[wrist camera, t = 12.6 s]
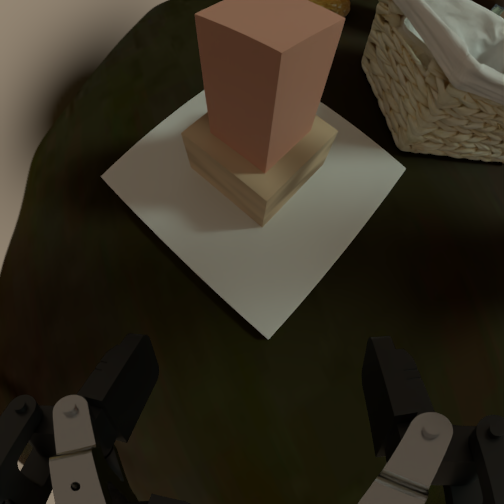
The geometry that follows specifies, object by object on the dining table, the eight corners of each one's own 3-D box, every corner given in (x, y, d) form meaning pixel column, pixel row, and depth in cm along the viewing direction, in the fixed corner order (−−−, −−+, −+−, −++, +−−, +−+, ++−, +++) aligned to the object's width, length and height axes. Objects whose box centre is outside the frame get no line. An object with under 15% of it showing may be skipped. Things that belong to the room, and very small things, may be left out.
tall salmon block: (257, 95, 21) (265, -16, 12) (310, 130, 20) (345, 18, 11) (210, 132, 20) (194, 14, 11) (265, 173, 19) (281, 52, 10)
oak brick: (254, 114, 27) (256, 76, 22) (323, 164, 25) (338, 131, 21) (191, 167, 25) (181, 133, 20) (262, 227, 24) (266, 201, 19)
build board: (250, 64, 29) (250, 59, 29) (402, 172, 27) (406, 168, 26) (103, 180, 25) (100, 176, 25) (267, 339, 23) (268, 339, 22)
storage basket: (478, 85, 32) (523, 27, 18) (522, 176, 28) (589, 126, 14) (347, 58, 31) (379, -37, 16) (390, 168, 27) (471, 64, 12)
